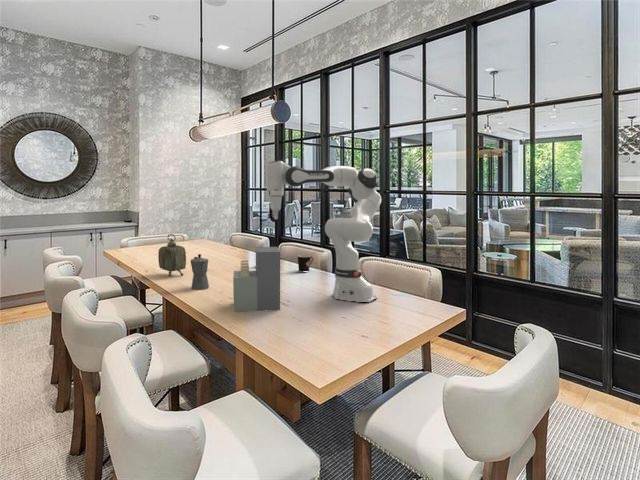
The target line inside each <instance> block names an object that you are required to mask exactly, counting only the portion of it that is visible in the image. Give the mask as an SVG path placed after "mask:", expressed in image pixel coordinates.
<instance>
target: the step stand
mask: <svg viewBox="0 0 640 480" xmlns="http://www.w3.org/2000/svg"><path fill="white" fill-rule="evenodd" d="M232 279H233V290H232V291H233V312H234V313H241V312H242V313H243V312H244V311H245V312H262V311H263V312H264V311H265V310H268V311H280V310H281V251H280V249H279V247H278V246H257V247H255V270H249V276H247V277H241V270H233V277H232ZM265 312H266V311H265Z"/></svg>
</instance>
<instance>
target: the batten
mask: <svg viewBox="0 0 640 480" xmlns="http://www.w3.org/2000/svg"><path fill="white" fill-rule="evenodd" d="M240 271H241V277H247V276H249V271H250V267H249V260H248V259H244V260H243V259H240Z"/></svg>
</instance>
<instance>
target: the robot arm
mask: <svg viewBox="0 0 640 480" xmlns="http://www.w3.org/2000/svg"><path fill="white" fill-rule="evenodd" d="M266 180H267V181H266V182H267V183H266V196H268V198H269V199H270V200H269V201H270V202H269V204H270V205H269V206H270V209H271V211H272V218H273V219H274V220H278V219H279V216H278V215H279V211H281V208H282V199H283V198H282V197H283V196H284V191H285V190H284V189H285V188H284V187H285V185H286V186H289V187H295V188H296V187H297V188H298V187H300V186H302V185H304V184H306V183H323V184H324V185H326V186H330V187H347V188H348V190H347V191H348V194H349V195H350V199H351V200H352V202H354V204H353V206H352V208H351V209H350V217H351V218H349V217H334V218H329V219H328V220H327V221H326V222H325V226H324V232H325V234H326V236H327V237H328V238H329V239H330V240H331V243H332V244H333V247H334V250H335V259H336V260H335V263H336V264H335V265H336V266H335V270H334V276H335V280H334V281H335V282H334V286H333V290H332V291H333V292H332V295H333V296H334V297H333V298H334V299H335V300H336V299H340V300H339V301H343V300H347V301H346V302H351V301H357V302H356V303H358V302H369V301H372V300H374V299H376V298H377V299H378V295H377V294H374V292H373V286H372V284H371V283H370V282H368V281H367V280H366V279H365V278H364V276H362V274H363V273H364V272H363V271H364V270H363V269H362V270H360V268H359V255H360V254H359V251H358V250H357V249H355V248H354V247H353V245H352V243H351V242H354V243H355V242H356V243H359V242H361V243H362V242H367V241H369V240H370V239H371V238H372V236H373V233H374V227H373V225H372V223H371V222H370V221H371V219H373V216H374V215H375V214H376V213H377V211H378V209H379V208H380V206H381V204H382V195H380V193H379V192H377V190H376V188H377V187H378V174H377V172H376V171H375V170H374V169H372V168H370V167H364V168H362V169H360V171H359V172H358V170H357V169H356V168H355V167H352V166H347V165H333V166H332V165H331V166H327V167H325V168H323V169H305V168H302V167H300V166H296V165H295V166H290V165H289V164H286V163H285V162H283V161H282V160H275V161H271V162H269V163H268V164H267V166H266ZM332 295H331V296H332ZM377 299H376V300H377ZM372 302H373V301H372ZM369 303H370V302H369Z"/></svg>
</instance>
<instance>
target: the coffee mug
mask: <svg viewBox="0 0 640 480" xmlns="http://www.w3.org/2000/svg"><path fill="white" fill-rule="evenodd" d="M313 261H314V257H312V256H311V255H308V254H298V255H297V264H298V265H297V266H298V272H299V271H309V272H310V265H311V264H312V263H313Z"/></svg>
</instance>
